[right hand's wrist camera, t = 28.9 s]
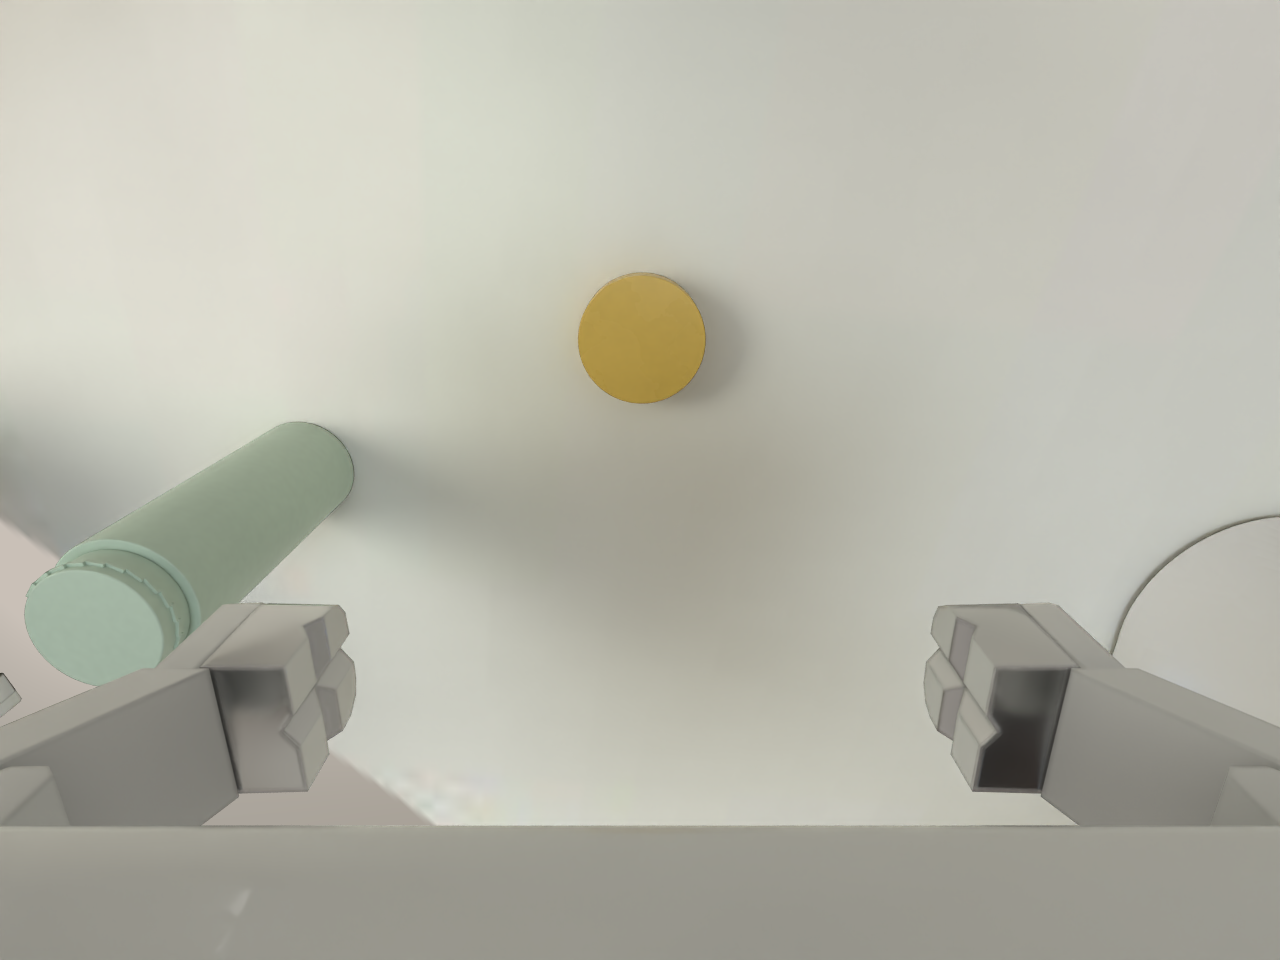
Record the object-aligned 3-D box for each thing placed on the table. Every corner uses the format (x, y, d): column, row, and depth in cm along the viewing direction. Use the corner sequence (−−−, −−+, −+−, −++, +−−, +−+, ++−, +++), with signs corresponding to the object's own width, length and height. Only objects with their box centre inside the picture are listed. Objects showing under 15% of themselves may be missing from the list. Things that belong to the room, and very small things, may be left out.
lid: (567, 287, 35) (564, 291, 33) (690, 260, 34) (692, 262, 32) (596, 405, 36) (594, 415, 35) (712, 381, 36) (715, 389, 34)
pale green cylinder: (372, 460, 37) (201, 619, 23) (323, 530, 39) (133, 721, 24) (286, 401, 36) (50, 530, 22) (239, 475, 38) (-12, 642, 23)
